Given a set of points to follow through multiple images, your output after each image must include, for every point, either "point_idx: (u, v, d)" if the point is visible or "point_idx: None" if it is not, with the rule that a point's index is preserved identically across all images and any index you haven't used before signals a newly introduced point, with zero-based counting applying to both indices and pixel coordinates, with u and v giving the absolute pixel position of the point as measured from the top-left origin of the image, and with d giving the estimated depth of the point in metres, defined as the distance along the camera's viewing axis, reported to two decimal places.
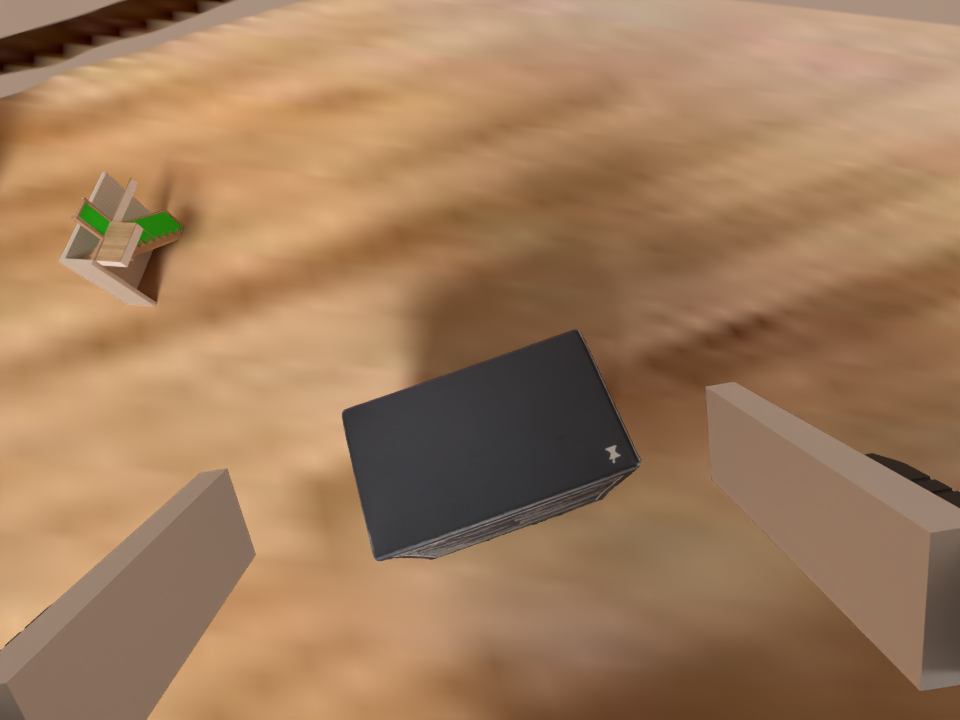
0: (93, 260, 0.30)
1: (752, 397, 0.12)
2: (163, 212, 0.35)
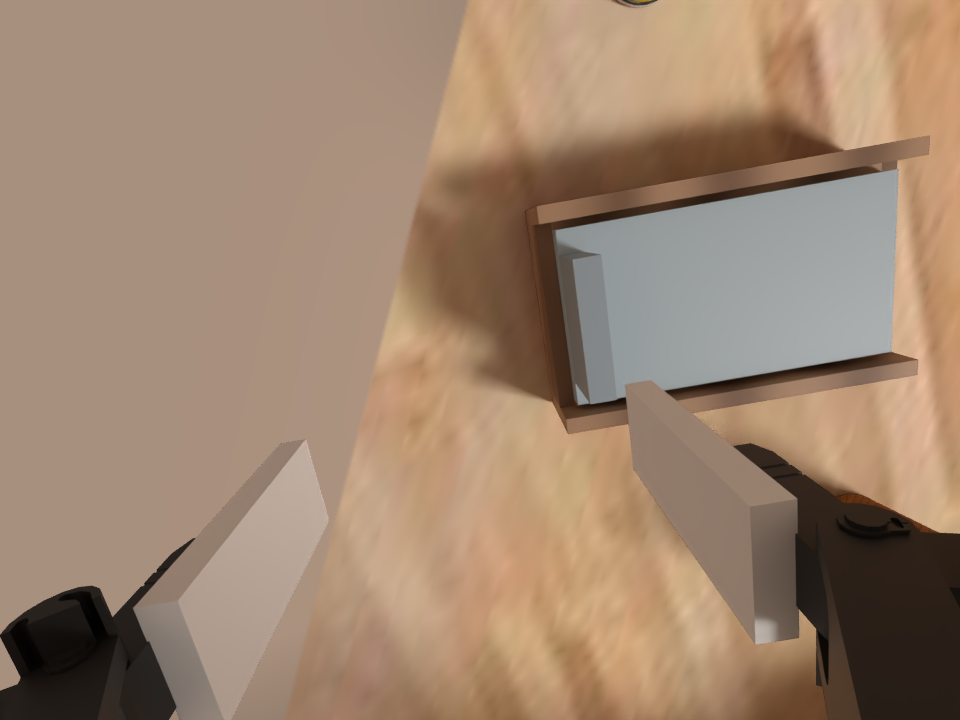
0: None
1: (660, 394, 0.13)
2: None
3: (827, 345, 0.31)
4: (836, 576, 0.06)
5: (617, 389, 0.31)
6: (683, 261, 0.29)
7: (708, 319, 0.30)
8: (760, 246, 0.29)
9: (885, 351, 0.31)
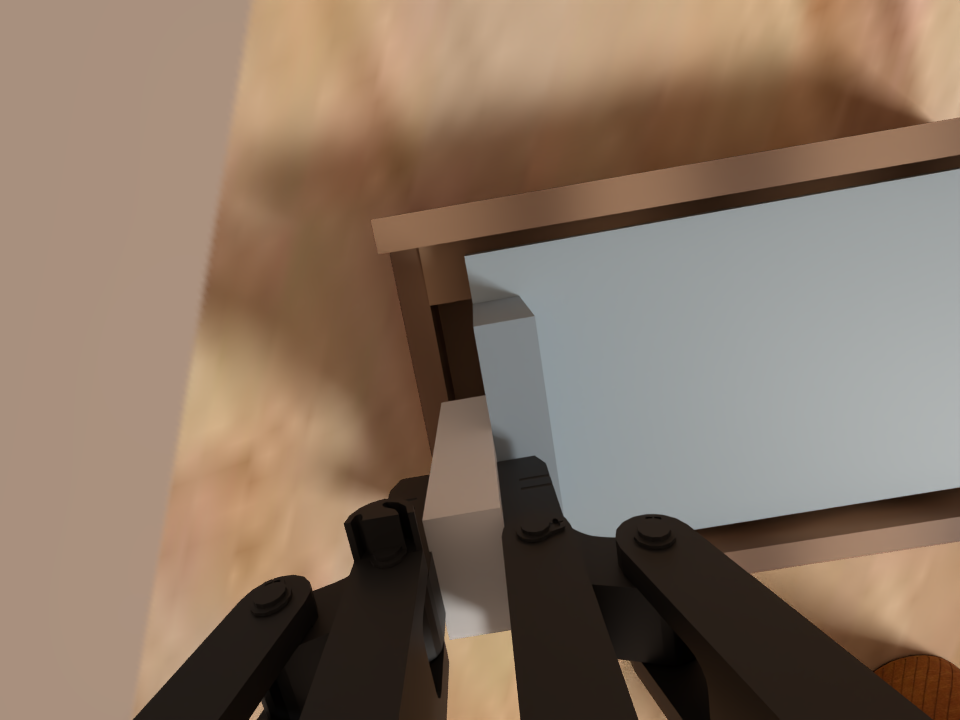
0: None
1: (482, 409, 0.14)
2: None
3: (959, 458, 0.17)
4: (512, 586, 0.07)
5: (585, 532, 0.18)
6: (704, 313, 0.16)
7: (749, 415, 0.17)
8: (848, 286, 0.16)
9: None
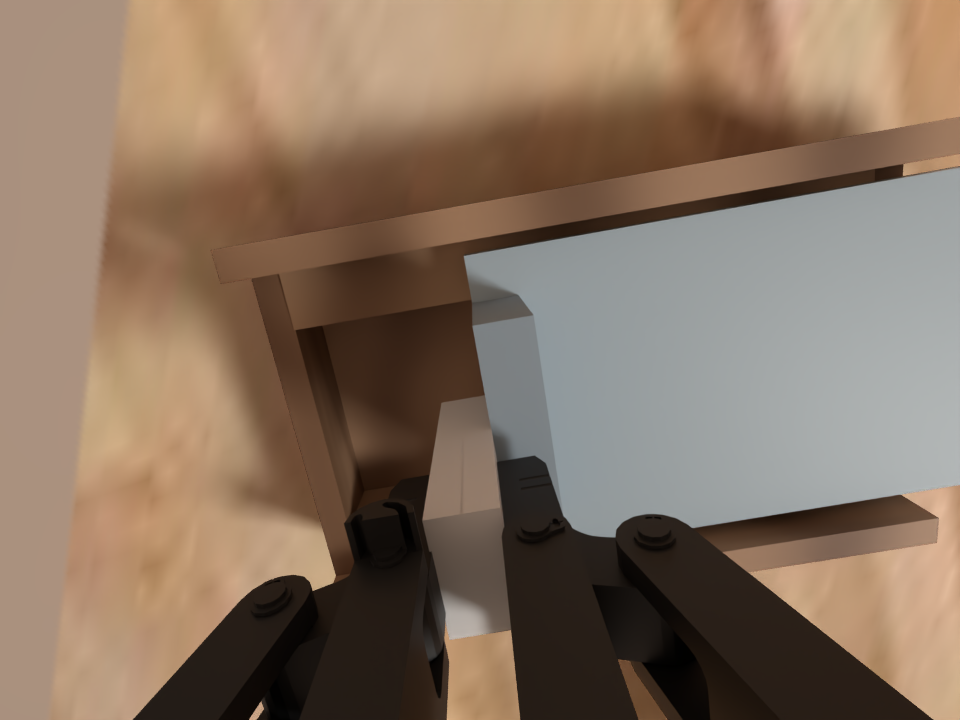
0: None
1: (482, 409, 0.14)
2: None
3: (956, 456, 0.17)
4: (512, 586, 0.07)
5: (585, 530, 0.18)
6: (703, 312, 0.16)
7: (747, 413, 0.17)
8: (845, 285, 0.16)
9: None
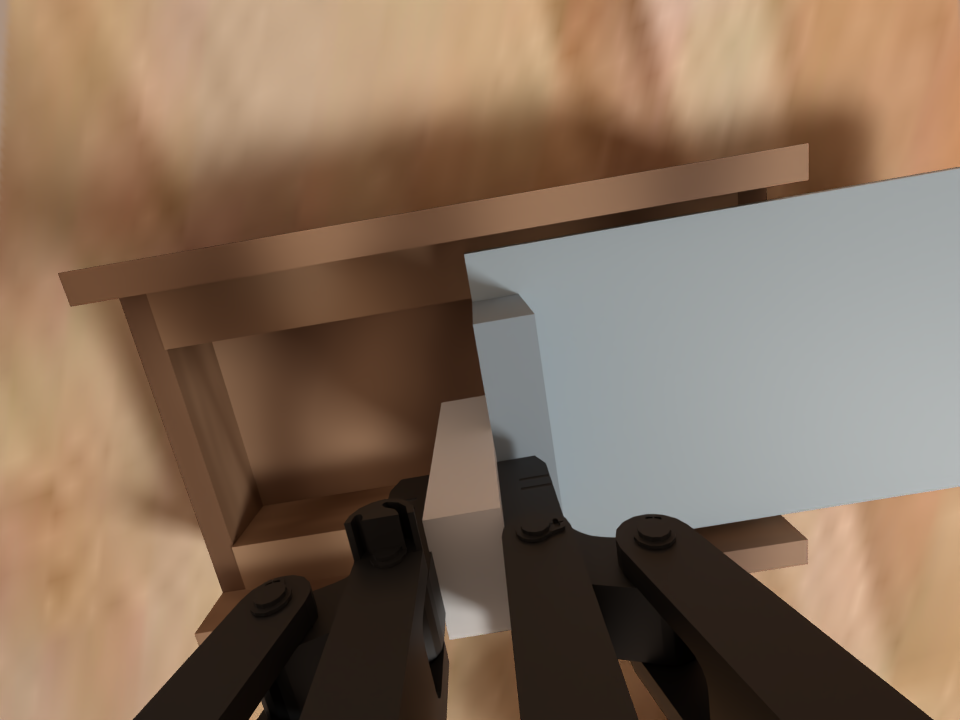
0: None
1: (482, 409, 0.14)
2: None
3: (957, 458, 0.17)
4: (512, 586, 0.07)
5: (584, 531, 0.18)
6: (704, 312, 0.16)
7: (748, 414, 0.17)
8: (847, 285, 0.16)
9: None
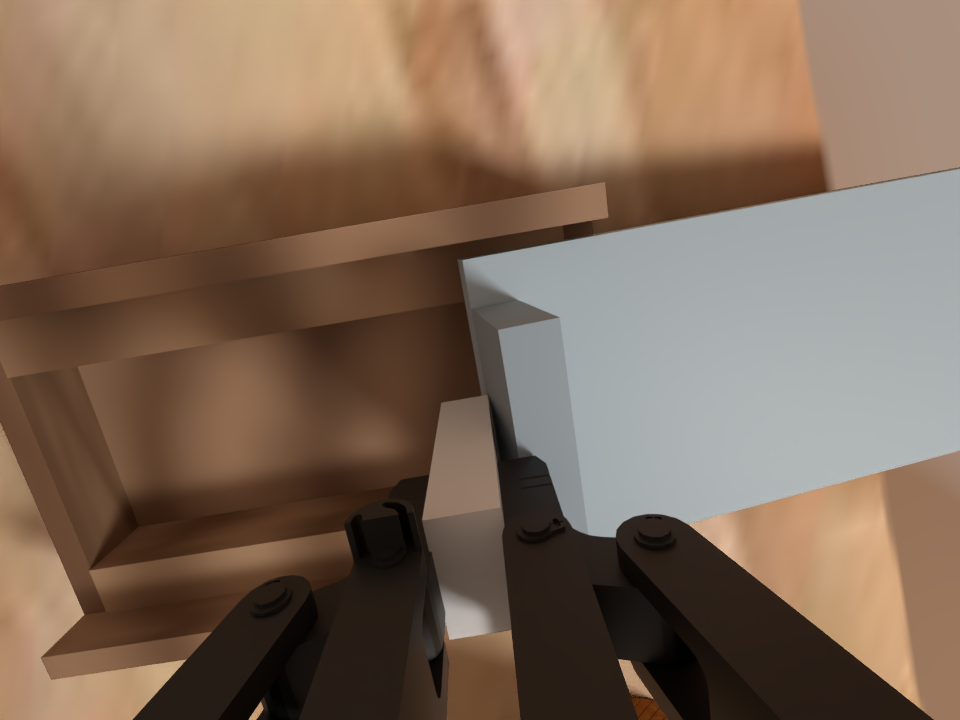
0: None
1: (482, 409, 0.14)
2: None
3: (903, 439, 0.19)
4: (512, 586, 0.07)
5: None
6: (691, 313, 0.17)
7: (731, 409, 0.18)
8: (813, 285, 0.17)
9: None
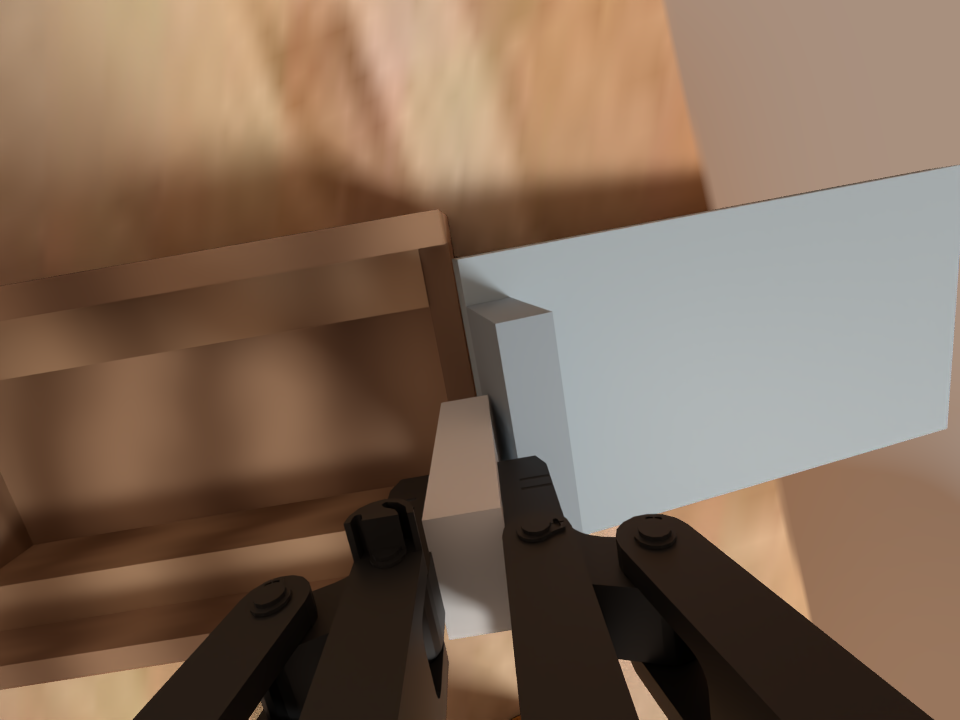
0: None
1: (482, 409, 0.14)
2: None
3: (870, 426, 0.21)
4: (513, 586, 0.07)
5: None
6: (673, 309, 0.18)
7: (711, 400, 0.19)
8: (785, 282, 0.18)
9: (940, 428, 0.21)
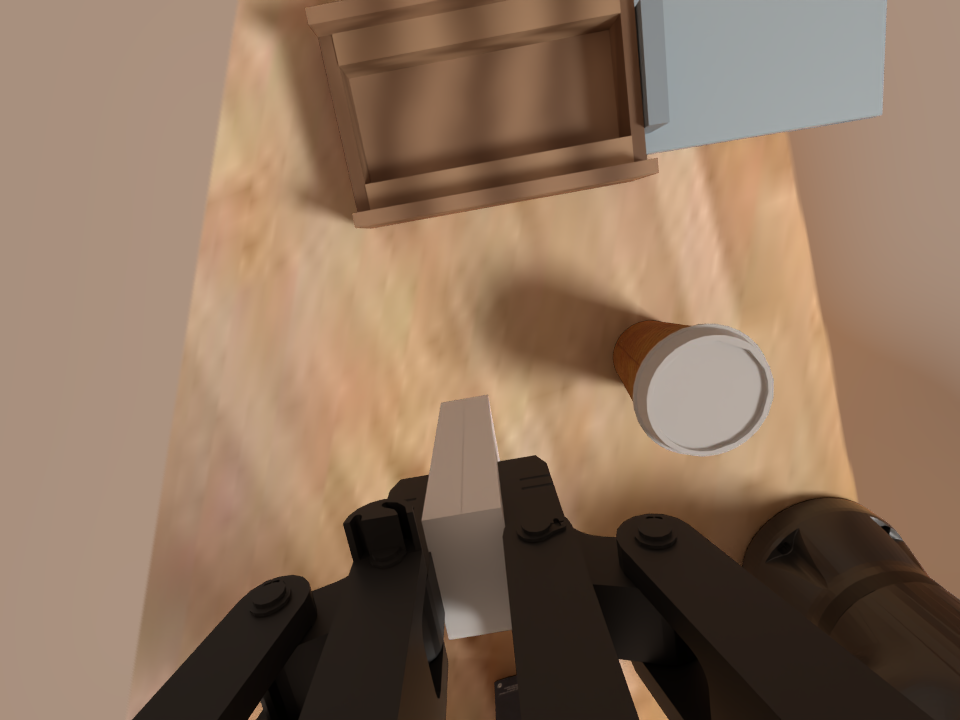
0: None
1: (482, 409, 0.14)
2: None
3: (831, 107, 0.39)
4: (513, 586, 0.07)
5: (664, 142, 0.39)
6: (720, 30, 0.38)
7: (738, 81, 0.39)
8: (780, 19, 0.38)
9: (877, 114, 0.39)
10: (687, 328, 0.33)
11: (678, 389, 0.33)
